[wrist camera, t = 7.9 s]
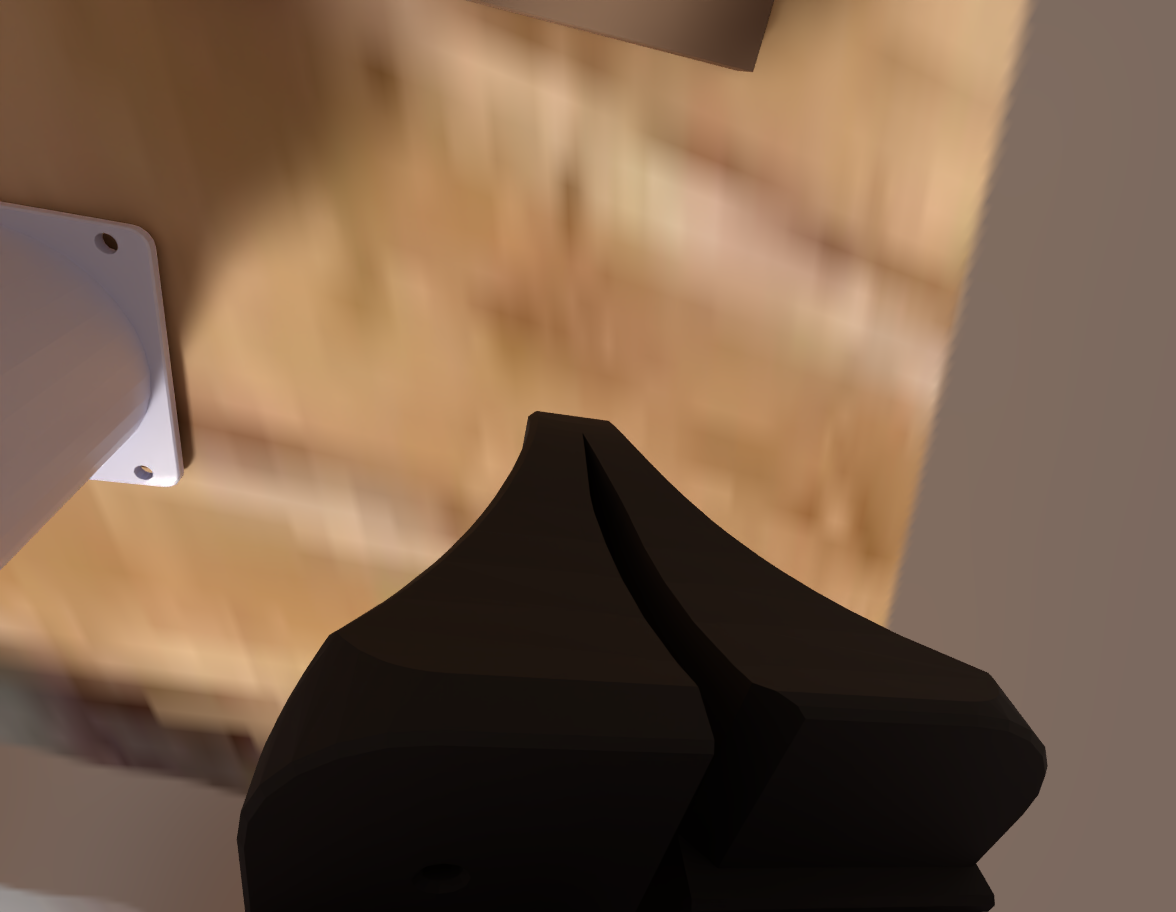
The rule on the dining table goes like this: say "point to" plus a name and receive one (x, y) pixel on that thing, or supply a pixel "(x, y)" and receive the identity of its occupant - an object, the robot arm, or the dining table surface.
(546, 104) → the dining table surface
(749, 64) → the wooden mechanism board
